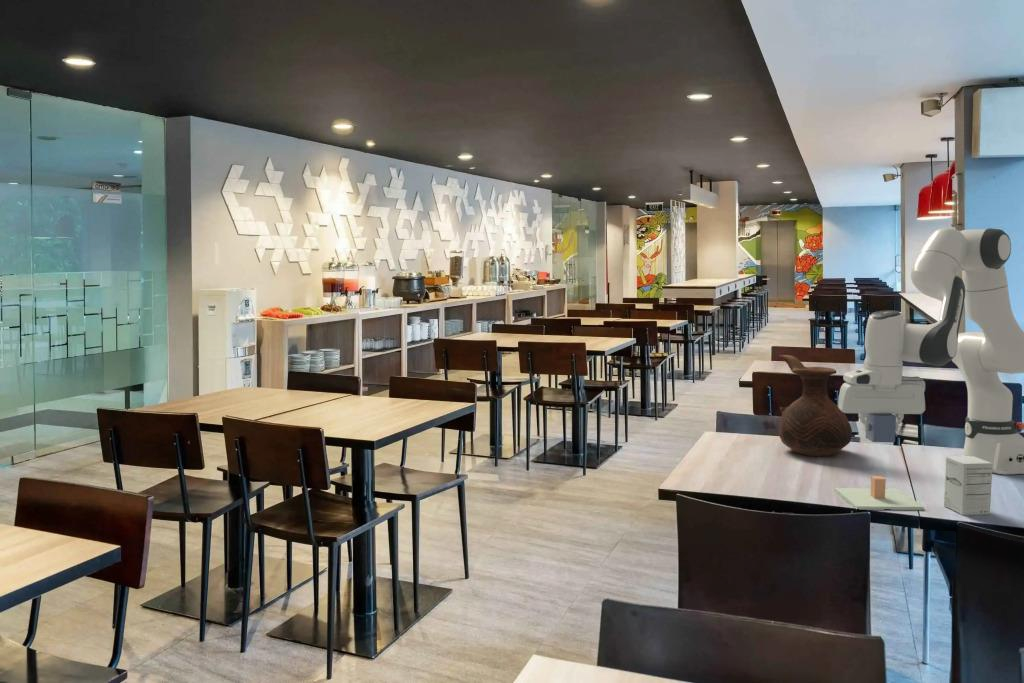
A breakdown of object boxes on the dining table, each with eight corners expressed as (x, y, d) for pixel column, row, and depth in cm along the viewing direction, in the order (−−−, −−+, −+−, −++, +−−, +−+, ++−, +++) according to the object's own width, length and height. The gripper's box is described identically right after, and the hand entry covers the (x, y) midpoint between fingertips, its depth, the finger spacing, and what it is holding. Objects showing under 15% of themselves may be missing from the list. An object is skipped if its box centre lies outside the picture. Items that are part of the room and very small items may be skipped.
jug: (835, 443, 268) (838, 353, 265) (862, 459, 246) (865, 361, 243) (769, 444, 268) (770, 353, 265) (789, 460, 247) (792, 362, 244)
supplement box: (942, 506, 200) (944, 456, 199) (971, 505, 201) (973, 455, 199) (961, 515, 193) (964, 463, 192) (991, 514, 193) (993, 462, 192)
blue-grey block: (886, 437, 206) (887, 412, 206) (894, 442, 201) (896, 416, 201) (865, 437, 207) (866, 411, 206) (873, 442, 202) (874, 415, 201)
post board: (896, 491, 213) (897, 469, 213) (924, 510, 197) (925, 486, 197) (834, 490, 214) (835, 469, 214) (856, 509, 198) (857, 486, 198)
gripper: (919, 374, 205) (917, 428, 206) (837, 374, 206) (834, 427, 208) (931, 378, 199) (928, 434, 200) (845, 377, 200) (843, 432, 201)
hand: (880, 430), depth 204 cm, fingers closed on blue-grey block, 5 cm apart
